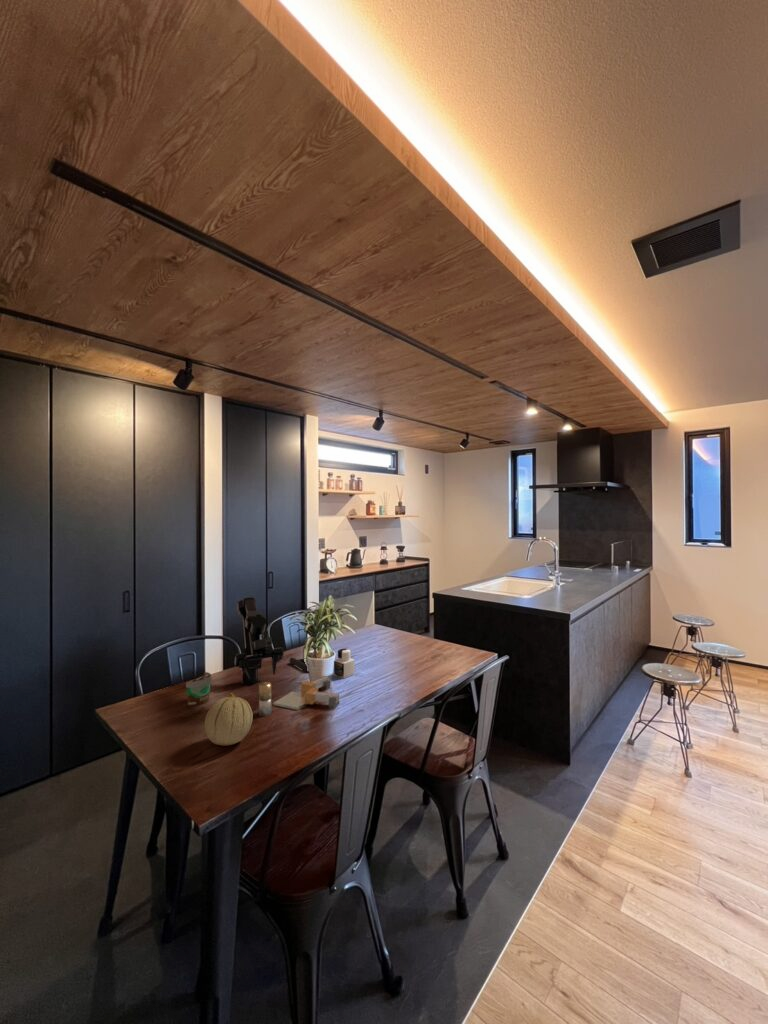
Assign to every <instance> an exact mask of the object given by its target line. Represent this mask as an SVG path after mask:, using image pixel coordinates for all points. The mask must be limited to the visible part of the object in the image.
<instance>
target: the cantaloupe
mask: <svg viewBox="0 0 768 1024" xmlns="http://www.w3.org/2000/svg"><path fill="white" fill-rule="evenodd" d="M229 695H230V696H226V697H222V698H220V699H218V700H216V702H214V703H213V705H211V707H210V708H209V709H208V711H207V713H206V716H205V720H204V731H205V734H206V736H207V739H209V741H210V742H212V744H214V745H218V746H224V747H225V746H226V747H227V746H232V745H235V744H237V743H239V742H241V741H242V740H243V739H244V738H245V737H246V736H247V735H248V733H249V731H250V729H251V727H252V723H253V717H254V715H253V710H252V707H251V706H250V704H249V702H248V701H247V700H246V699H244V698H241V697H239V696H235V695H234V693H232V692H231V693H230V694H229Z"/></svg>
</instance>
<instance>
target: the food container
mask: <svg viewBox="0 0 768 1024" xmlns="http://www.w3.org/2000/svg"><path fill="white" fill-rule="evenodd" d="M212 681H213V676H212V674H211V673H210V672H207V671H205V672H204V674H202V675H201V676H198V677H196V678H194V679H193V680H192V681H186V684H185V688H186V693H187V705H188V707H197V706H201V705H205V704H207V703H208V702H209V701H210V692H211V691H210V689H211V682H212Z"/></svg>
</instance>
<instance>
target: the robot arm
mask: <svg viewBox="0 0 768 1024" xmlns="http://www.w3.org/2000/svg"><path fill="white" fill-rule="evenodd" d="M236 611H237V612H238V616H239V618H240V619H241V620H242V624H243V626H242V627H243V635H244V636H243V638H244V650H243V652H240V653H236V655H235V657H234V667H235V668H238V669H240V671H241V672H242V681H240V684H241V685H246V686H253V685H255V684H256V683H258V682H261V681H262V680H261V679H260V678H259V670H260V669H261V668H262V662H263V659H267V658H268V659H269V658H271V667H272V673H273V676H274V675H275V674H276V669H277V668H276V667H277V663H279V662H280V661H281V660H283V656H284V654H285V651H284V648H283V647H281V646H280V647H274V648H272V651H271V652H267V651H268V646H269V647H270V646H272V645H273V639H272V636H267V637H265V635H264V634H265V633H264V632H265V630H266V626H267V619H266V618H265V617H264V616H263V614H262V612H259V611H258V610H257V600H256V599H255V597H253V596H249V597H244V598H242V599H241V600H239V601H238V602H237V604H236Z"/></svg>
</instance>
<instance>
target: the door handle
mask: <svg viewBox="0 0 768 1024" xmlns="http://www.w3.org/2000/svg"><path fill="white" fill-rule="evenodd" d="M304 659H305V658H300V659H297V658H295V657H290V658H289V660H288V663H290V664H292V666H296V667H297V669H298V668H299V670H300V671H302V670H303V671H304V672H305V673H308V672H307V666H306V664H305V662H304ZM296 667H295V668H296Z"/></svg>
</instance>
